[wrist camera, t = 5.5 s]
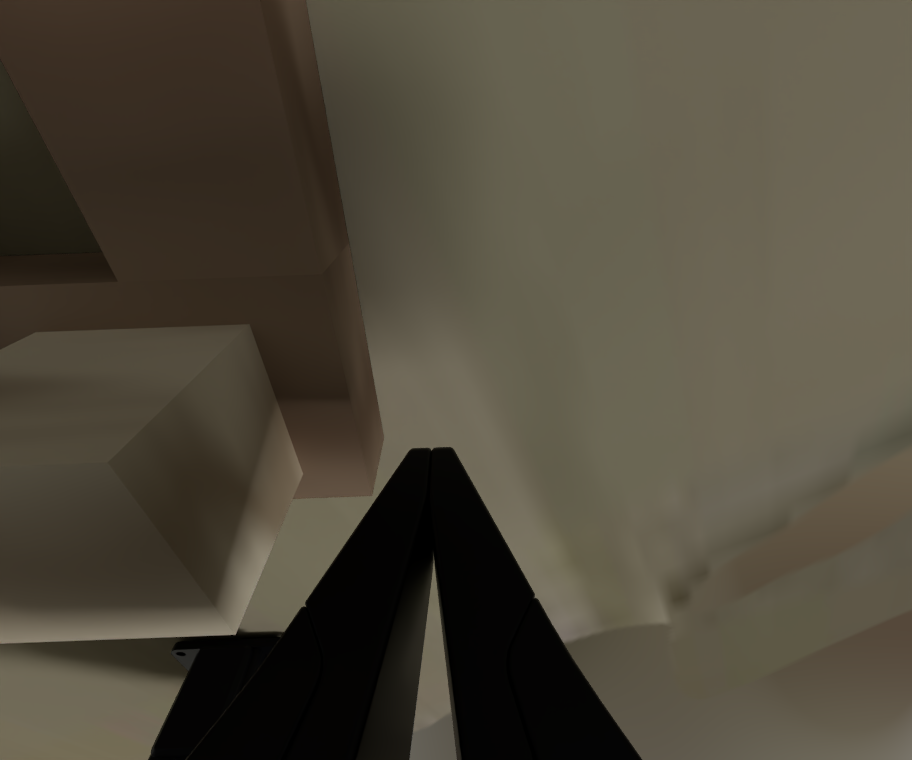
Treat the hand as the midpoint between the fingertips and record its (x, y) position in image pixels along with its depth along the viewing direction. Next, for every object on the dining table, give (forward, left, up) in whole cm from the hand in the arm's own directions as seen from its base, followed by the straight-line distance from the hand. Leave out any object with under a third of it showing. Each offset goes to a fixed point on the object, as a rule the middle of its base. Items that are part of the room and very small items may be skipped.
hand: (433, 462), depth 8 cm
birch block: (0, +6, -2) cm, 6 cm away
